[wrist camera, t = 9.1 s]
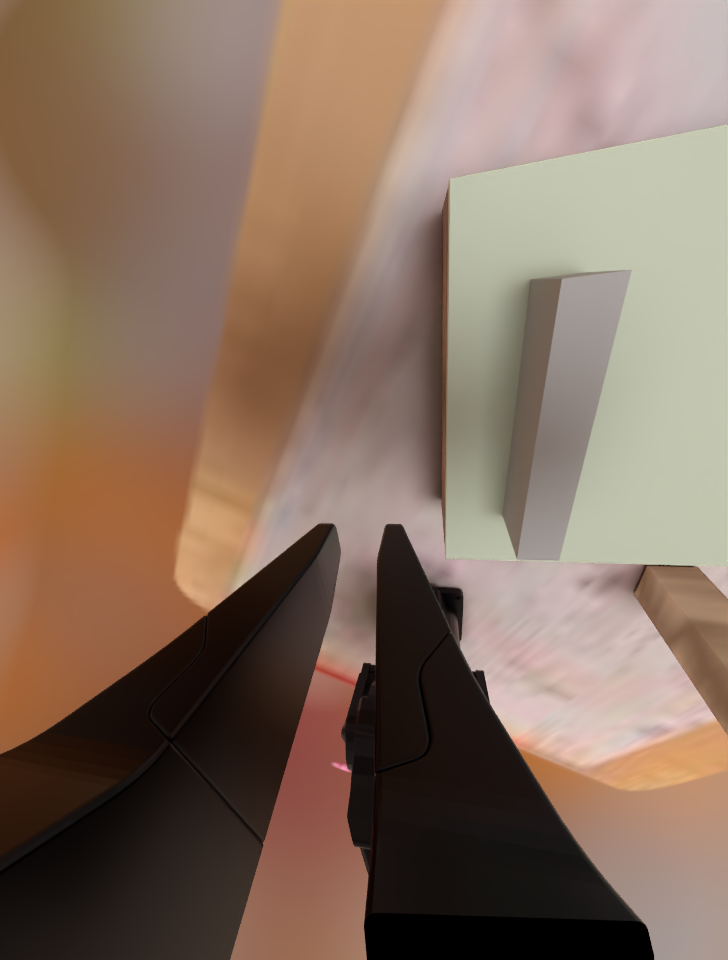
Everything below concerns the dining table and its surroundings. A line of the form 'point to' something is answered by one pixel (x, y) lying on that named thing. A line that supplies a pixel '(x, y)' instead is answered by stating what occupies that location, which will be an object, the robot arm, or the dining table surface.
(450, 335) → the lid
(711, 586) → the brown wooden block
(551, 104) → the dining table surface
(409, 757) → the robot arm
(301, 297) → the dining table surface
